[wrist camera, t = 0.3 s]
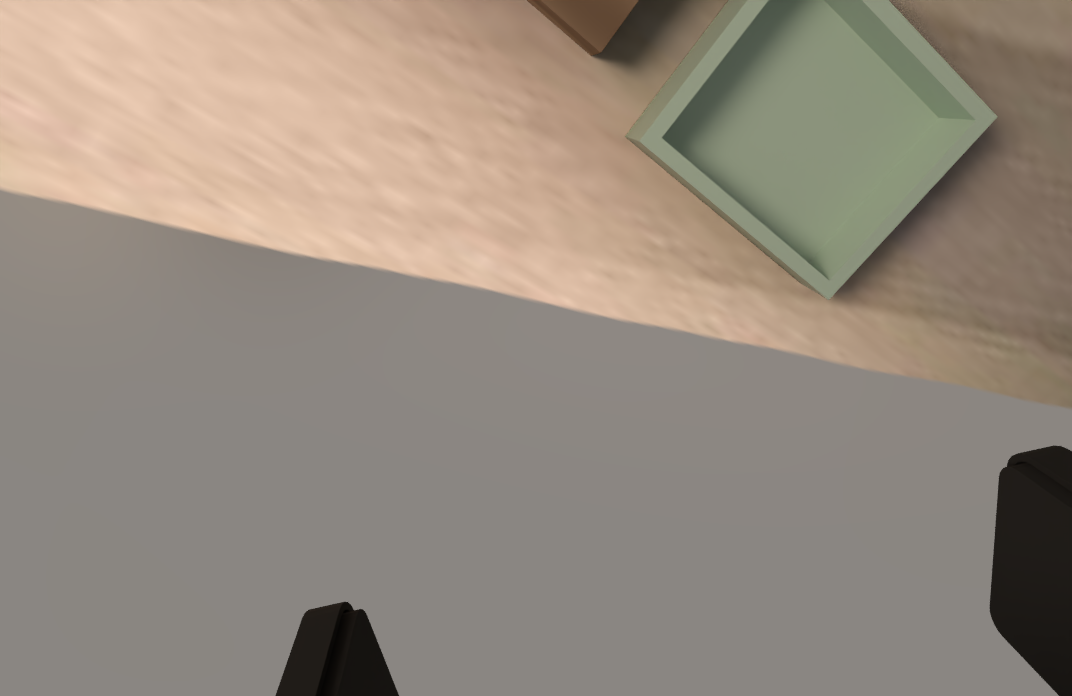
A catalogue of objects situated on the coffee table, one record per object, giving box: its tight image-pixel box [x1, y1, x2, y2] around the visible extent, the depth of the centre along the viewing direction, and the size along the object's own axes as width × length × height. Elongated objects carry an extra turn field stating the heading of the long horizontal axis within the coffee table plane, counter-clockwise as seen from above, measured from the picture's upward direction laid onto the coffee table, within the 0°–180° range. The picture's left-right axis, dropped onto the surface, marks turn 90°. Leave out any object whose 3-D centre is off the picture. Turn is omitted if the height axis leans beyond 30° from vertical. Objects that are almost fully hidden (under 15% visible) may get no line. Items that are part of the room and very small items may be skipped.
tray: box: [625, 0, 997, 300], centre depth 34 cm, size 12×14×4 cm
